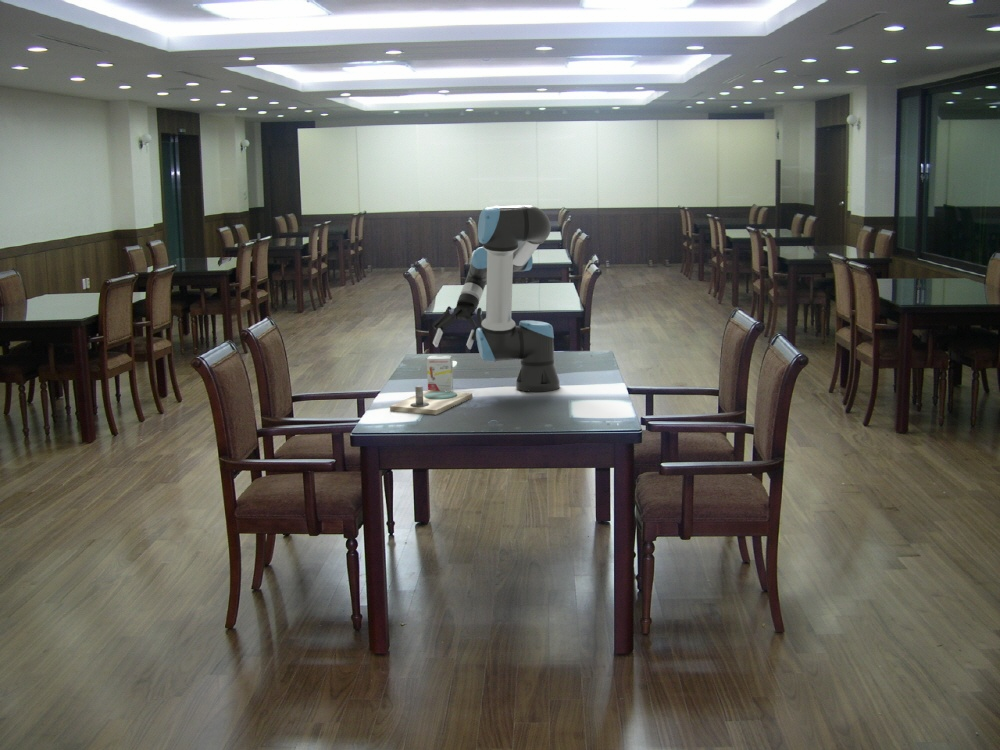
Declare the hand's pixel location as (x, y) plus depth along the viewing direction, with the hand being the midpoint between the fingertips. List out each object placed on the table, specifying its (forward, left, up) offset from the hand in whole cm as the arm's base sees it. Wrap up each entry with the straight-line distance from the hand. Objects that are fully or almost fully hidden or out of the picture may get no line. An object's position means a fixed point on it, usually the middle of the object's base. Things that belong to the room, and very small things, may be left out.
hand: (451, 346), depth 374 cm
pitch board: (-8, +30, -14) cm, 34 cm away
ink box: (0, +10, -14) cm, 17 cm away
